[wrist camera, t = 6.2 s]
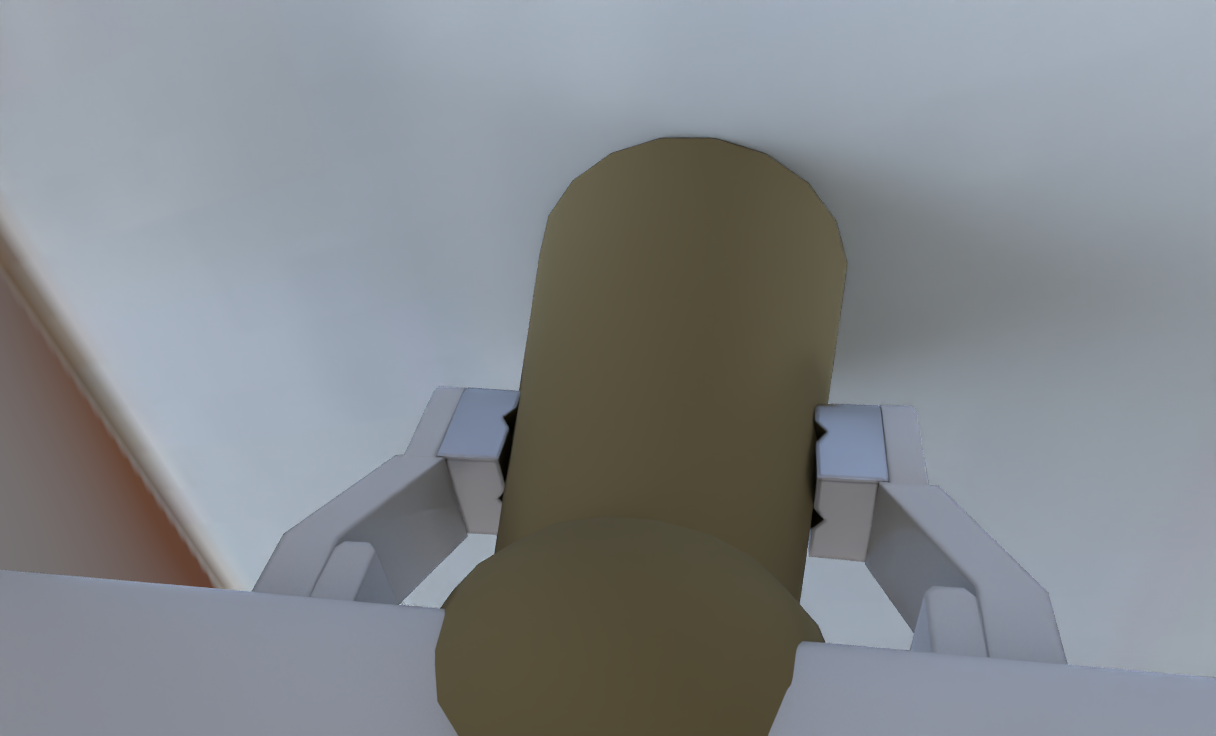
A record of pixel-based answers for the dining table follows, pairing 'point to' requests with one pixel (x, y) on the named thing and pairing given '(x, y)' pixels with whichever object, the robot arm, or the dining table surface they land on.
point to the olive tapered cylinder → (657, 457)
